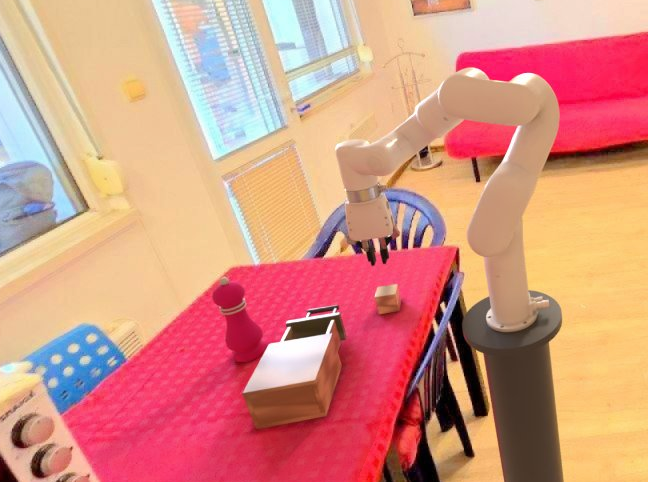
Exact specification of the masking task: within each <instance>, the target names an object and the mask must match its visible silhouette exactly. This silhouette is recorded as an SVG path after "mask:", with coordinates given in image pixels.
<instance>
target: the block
mask: <svg viewBox="0 0 648 482" xmlns="http://www.w3.org/2000/svg"><path fill="white" fill-rule="evenodd" d="M374 301H375V305H376V309H377V314H378V315H383V314H388V313H389V314H390V313H395V312H396V313H397V312H400V309H401V303H402V297H401V293H400V289H399V284H398V283H394V284H388V285H381V286H377V287H376V291H375V294H374Z"/></svg>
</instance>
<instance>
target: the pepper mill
mask: <svg viewBox="0 0 648 482" xmlns="http://www.w3.org/2000/svg"><path fill="white" fill-rule="evenodd" d="M218 283H219V284H218V285H217V286H216V287H215V288H214V289H213V290H212V295H211V297H212V301H213V303H214V304H215V305H217V306H218V309H219V311H220V313H221V315H223V316H224V318H225V321H226V330H225V336H224V337H225V339H224V341H225V345H226V347H227V349H228V350H230V351H232V355H233V358H234V361H235V362H238V363H248V362H250V361H253V360H255V359H257V358H259V357H261V355H263V354H264V352H265V351H266V345H265V342H264V341H263V340H262V339H263V335H264V333H263V330H262V327H261V325H259V324H258V323H257V322H256V321H255V320H254V319H253V318H252V317H250V315H249V314H248V310H247V308H246V307H247V302H246V298H244V297H245V295H246V291H245V288H244V286H243V284H241V283H240V282H238V281H234V280H230V279H229V278H228V277H226V276H223V277H221V278H219V281H218Z"/></svg>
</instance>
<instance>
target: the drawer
mask: <svg viewBox="0 0 648 482" xmlns="http://www.w3.org/2000/svg"><path fill="white" fill-rule="evenodd" d="M339 310H340V304H334V305H328V306H323V307H316V308H309V309H307V310H306V313H307V314H306V315H305V317H302V318H296V319H289V320H286V321H285V327H286V330H285V331H284V333H283V335H282V337H281V339H280V341H279V342H283V341H289V340H295V339H301V338H307V337H312V336H318V335H324V334H330V333H333V337H334V340H335V344H336V347H337V350H338V351H340V347H341V344H342V341H346V340H347V337H348V336H347V333H346V329H345V325H344V321H343V318H342V314H341V311H339ZM328 312H331V313H328ZM322 313H326V314H322ZM316 314H319V315H316ZM312 315H313V316H312Z"/></svg>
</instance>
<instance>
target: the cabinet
mask: <svg viewBox="0 0 648 482" xmlns="http://www.w3.org/2000/svg"><path fill="white" fill-rule="evenodd" d="M342 368H343V365H342V361H341V357H340V355H339V350H337V347H336V344H335V340H334V337H333V333H330V334H324V335H318V336H312V337H307V338H301V339H295V340H289V341H283V342H280V341H277V342H271V343H269V344H268V345H267V347H266V348H265V351H264V352H263V353H262V356H261V358H260V360H259V362H258V363H257V365H256V367H255V369H254V371H253V372H252V374H251V376H250V378H249V380H248V382H247V384H246V386H245V387H244V389H243V391H242V397H243V399H244V402H245V404H246V406H247V409H248V412H249V415H250V417H251V421H252V423H253V425H254V429H255V430H261V429H266V428H271V427H276V426H283V425H288V424H292V423H297V422H298V423H299V422H302V421H308V420H312V419H313V420H314V419H318V418H319V419H320V418H324V417H327V415H328V412H329V408H330V405H331V403H332V399H333V396H334V393H335V389H336V386H337V383H338V380H339V377H340V375H341V370H342Z"/></svg>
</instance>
